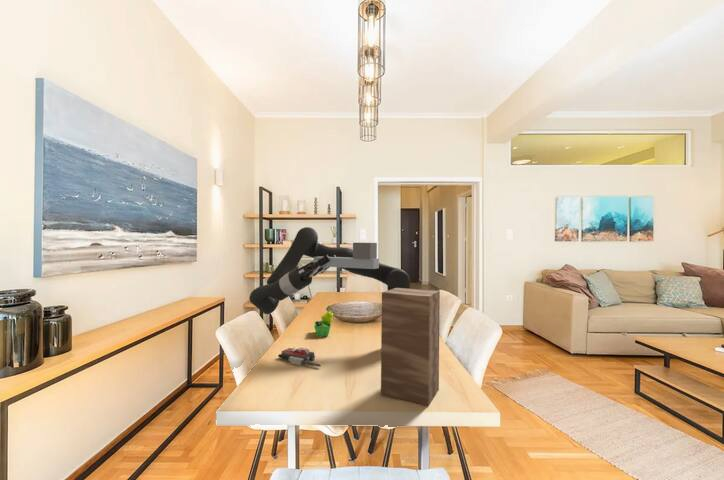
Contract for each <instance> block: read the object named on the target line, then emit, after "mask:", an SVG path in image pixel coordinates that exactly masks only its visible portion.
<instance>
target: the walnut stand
mask: <svg viewBox="0 0 724 480" xmlns="http://www.w3.org/2000/svg"><path fill="white" fill-rule="evenodd" d="M440 296H441V293H440V290H432V289H418V288H410V289H407V288H394V289H391V290H388V291H387V290H385V291H383V292H381V332H380V333H381V334H380V335H381V336H380V337H381V340H380V341H381V344H380V345H381V347H380V348H381V349H380V356H381V357H380V358H381V359H380V397H383V398H389V399H393V400H397V401H401V402H406V403H411V404H414V405H420V406H423V407H429V406H430V405H431V403H432V402H433V400H434V399H435V396H436V395H437V393H438V392H439V390H440V305H441V304H440V303H441V302H440V301H441V299H440Z"/></svg>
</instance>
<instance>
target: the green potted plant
mask: <svg viewBox="0 0 724 480" xmlns="http://www.w3.org/2000/svg"><path fill="white" fill-rule="evenodd" d="M320 318H321V320H319V321H318V320H317V321H314V330H315V335H316V337H317V338H320V337H321V338H326V337H327V338H328V337H329V334H330V330H331V326H332V324H331V323H332V322H333V318H334V313H333V311H332V310H327V311H326V313H324V314H323V315H322V316H321V317H320Z"/></svg>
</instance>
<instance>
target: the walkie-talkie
mask: <svg viewBox="0 0 724 480" xmlns="http://www.w3.org/2000/svg"><path fill="white" fill-rule="evenodd" d="M315 357H316V355H315V352H313V351H310V350H309V349H308V348H305V347H299V348H296V347H294V346H293V347H291V348H290V347H288V348H285V349H284V350H282V351H281V354H280V353H279V354H278V358H280V359H281V360H283V361H289V362H290V364H293V365H297V366H302V365H307V366H311V367H314V366H315V367H319V368H320V367H321V364H320V363H316V362H311V361H314V360H315Z"/></svg>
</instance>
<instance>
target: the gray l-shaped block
mask: <svg viewBox="0 0 724 480" xmlns="http://www.w3.org/2000/svg"><path fill="white" fill-rule="evenodd" d="M352 250H353V258H347V257H329V259H330V261H329V262H328V263H326V264H324V265H323V266H325V267H329V268H340V267H344V268H363V269H377V268H379V263H380V258H378V257H377V256H378V255H377V254H378V252H377V251H378V242H352ZM321 258H322V257H314V258H313V261H314V262H315V261H316V260H319V259H321Z"/></svg>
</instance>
